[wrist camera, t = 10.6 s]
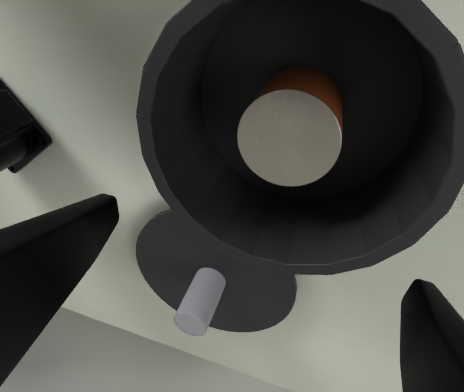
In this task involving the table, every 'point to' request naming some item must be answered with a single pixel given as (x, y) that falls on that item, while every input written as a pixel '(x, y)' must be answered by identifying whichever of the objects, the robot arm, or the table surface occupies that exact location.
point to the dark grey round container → (353, 132)
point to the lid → (209, 281)
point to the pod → (293, 127)
